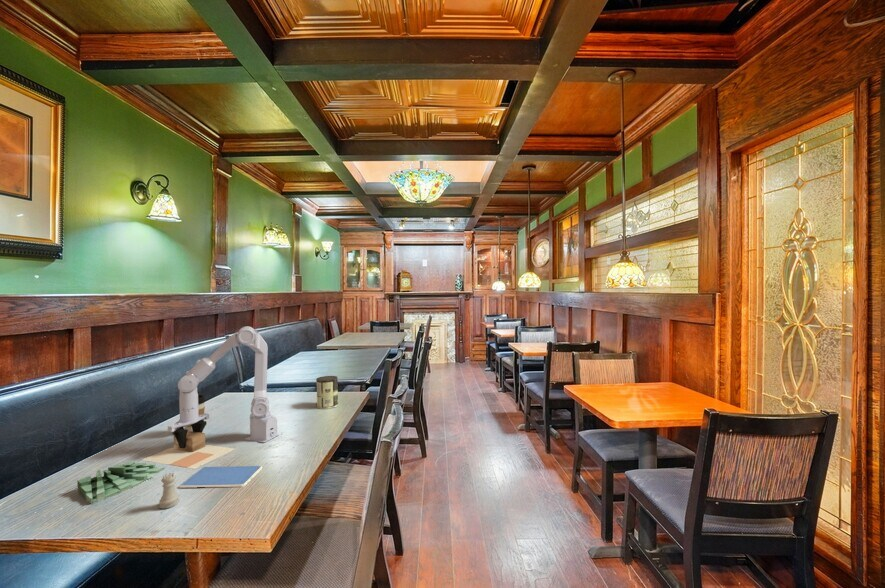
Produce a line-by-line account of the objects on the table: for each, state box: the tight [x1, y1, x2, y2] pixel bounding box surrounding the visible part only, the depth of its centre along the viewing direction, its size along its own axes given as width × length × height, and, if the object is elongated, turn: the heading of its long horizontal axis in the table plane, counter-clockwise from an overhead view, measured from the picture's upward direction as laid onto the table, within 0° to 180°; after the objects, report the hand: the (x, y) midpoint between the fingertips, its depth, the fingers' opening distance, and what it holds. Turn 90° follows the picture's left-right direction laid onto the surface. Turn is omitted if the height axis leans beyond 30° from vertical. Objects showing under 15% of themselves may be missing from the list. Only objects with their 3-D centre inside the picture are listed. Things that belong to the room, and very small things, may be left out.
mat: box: [141, 444, 235, 470], centre depth 132 cm, size 24×16×1 cm, turn 72°
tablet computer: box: [178, 465, 263, 489], centre depth 116 cm, size 19×13×1 cm, turn 91°
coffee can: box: [315, 375, 339, 410], centre depth 188 cm, size 10×10×14 cm
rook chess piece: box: [158, 472, 180, 510], centre depth 101 cm, size 4×4×8 cm
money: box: [76, 461, 166, 505], centre depth 112 cm, size 20×16×5 cm
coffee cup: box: [184, 394, 206, 432], centre depth 154 cm, size 8×8×15 cm
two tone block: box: [173, 431, 206, 452], centre depth 138 cm, size 9×5×5 cm, turn 72°
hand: (189, 444), depth 138 cm, fingers closed on two tone block, 5 cm apart
